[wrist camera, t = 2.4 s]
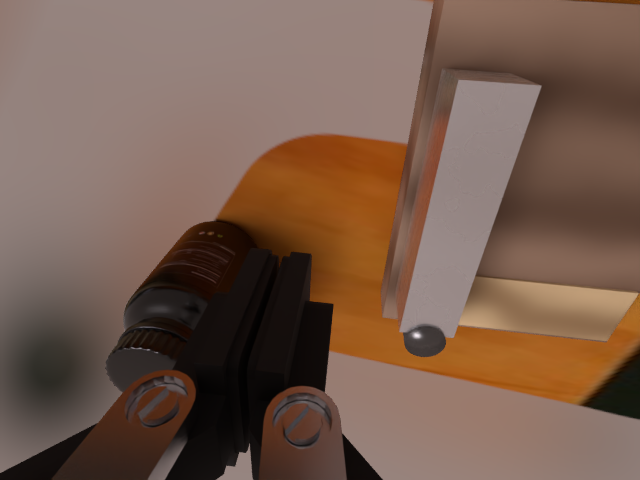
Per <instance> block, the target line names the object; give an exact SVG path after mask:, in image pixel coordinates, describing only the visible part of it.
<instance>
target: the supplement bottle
mask: <svg viewBox="0 0 640 480" xmlns="http://www.w3.org/2000/svg"><path fill="white" fill-rule="evenodd" d="M251 248H257V246H256V244H255V243H254V241H253V240H252V239H251V238H250V237H249V236H248V235H247V234H246V233H245V232H243V231H242V230H240V229H239V228H237V227H235V226H233V225H230V224H227V223H223V222H215V221H211V222H203V223H200V224H197V225H195V226H193V227H191V228H190V229H188V230H187V231H186V232H185V233H184V234H183V235H182V236H181V237H180V239H179V240H178V241H177V242H176V243H175V245H174V246H173V247H172V248H171V249H170V251H169V252H168V253H167V254H166V255H165V256H164V258H163V259H162V260H161V261H160V262H159V264H158V265H157V266H156V267H155V269H154V270H153V271H152V272H151V273H150V275H149V276H148V277H147V278H146V279H145V281H144V282H143V283H142V284H141V285H140V287H139V288H138V289H137V290H136V291H135V293H134V294H133V295H132V296H131V298H130V299H129V301H128V303H127V304H126V307H125V311H124V319H123V322H124V329H125V332H124V333H123V334H122V336H121V337H120V339H119V341H118V343H117V345H116V346H115V348H114V349H113V350H112V352H111V353H110V355H109V356H108V359H107V361H106V368H105V369H106V370H107V375H108V376H109V378H110V380H111V381H112V382H113V384H114V386H116V387H117V388H118V389H119V390H120V391H122V392H124V391H125V390H126V389H127V388H128V387H129V386H130V385H131V384H132V383H133V382H135V381H136V380H138V379H140V378H141V377H143V376H144V375H147V374H150V373H153V372H155V371H161V370H172V369H173V367H174V365H175V364H176V362H177V360H178V358H179V356H180V354H181V353H182V351H183V349H184V347H185V345H186V343H187V342H188V340H189V338H190V336H191V334H192V333H193V331H194V329H195V327H196V325H197V323H198V322H199V320H200V318H201V316H202V314H203V312H204V311H205V309H206V307H207V305H208V303H209V301H210V300H211V298H212V296H213V295H214V293H216V292H217V291H219V292H228V293H229V291H230V289H231V287H232V285H233V283H234V281H235V279H236V277H237V275H238V273H239V270H240V268H241V266H242V264H243V262H244V260H245V258H246V256H247V254H248V252H249V250H250V249H251Z"/></svg>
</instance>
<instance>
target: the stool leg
mask: <svg viewBox="0 0 640 480" xmlns="http://www.w3.org/2000/svg"><path fill="white" fill-rule="evenodd" d="M540 89H541V85H539V84H536V83H534V82H531V81H529V80H526V79H524V78H521V77H519V76H516V75H514V74H511V73H499V72H485V71H471V70H456V69H442V72H441V76H440V81H439V86H438V91H437V96H436V100H435V105H434V110H433V115H432V119H431V124H430V129H429V134H428V138H427V143H426V148H425V153H424V158H423V162H422V167H421V172H420V177H419V181H418V186H417V191H416V196H415V200H414V205H413V210H412V215H411V219H410V224H409V229H408V234H407V239H406V243H405V248H404V253H403V258H402V262H401V267H400V272H399V277H398V281H397V286H396V291H395V297H396V306H397V315H398V324H399V332H403V335H404V343H405V347H406V349H407V350H408V351H409V352H410V353H411V354H413V355H416V356H420V357H430V356H434V355H436V354H438V353H440V352H441V351H442V350H443V349H444V347H445V345H446V340H445V337H450V338H454V335H455V332H456V329H457V326H458V324H459V321H460V318H461V315H462V312H463V309H464V306H465V304H466V301H467V298H468V295H469V292H470V289H471V286H472V284H473V281H474V278H475V275H476V272H477V269H478V266H479V264H480V261H481V258H482V255H483V252H484V249H485V246H486V244H487V241H488V238H489V235H490V232H491V229H492V226H493V224H494V221H495V218H496V215H497V212H498V209H499V206H500V204H501V201H502V198H503V195H504V192H505V189H506V186H507V184H508V181H509V178H510V175H511V172H512V169H513V166H514V163H515V161H516V158H517V155H518V152H519V149H520V146H521V143H522V141H523V138H524V135H525V132H526V129H527V126H528V123H529V121H530V118H531V115H532V112H533V109H534V106H535V103H536V101H537V98H538V95H539V92H540Z"/></svg>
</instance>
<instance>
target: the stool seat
mask: <svg viewBox="0 0 640 480" xmlns="http://www.w3.org/2000/svg"><path fill="white" fill-rule="evenodd" d="M442 69H456V70H471V71H485V72H499V73H511V74H514V75H516V76H519V77H521V78H524V79H526V80H529V81H531V82H534V83H536V84H539V85H541V89H540V92H539V95H538V98H537V101H536V103H535V106H534V109H533V112H532V115H531V118H530V121H529V123H528V126H527V129H526V132H525V135H524V138H523V141H522V143H521V146H520V149H519V152H518V155H517V158H516V161H515V163H514V166H513V169H512V172H511V175H510V178H509V181H508V184H507V186H506V189H505V192H504V195H503V198H502V201H501V204H500V206H499V209H498V212H497V215H496V218H495V221H494V224H493V226H492V229H491V232H490V235H489V238H488V241H487V244H486V246H485V249H484V252H483V255H482V258H481V261H480V264H479V266H478V269H477V272H476V275H475V278H474V281H473V284H472V286H471V289H470V292H469V295H468V298H467V301H466V304H465V306H464V309H463V312H462V315H461V318H460V321H459V324H458V326H464V327H473V328H482V329H491V330H500V331H509V332H518V333H527V334H536V335H545V336H554V337H563V338H572V339H581V340H590V341H599V342H607V340H608V339H609V337H610V336H611V334H612V333H613V331H614V330H615V328H616V327H617V325H618V324H619V323H620V321H621V320H622V318H623V317H624V315H625V314H626V312H627V311H628V309H629V308H630V306H631V305H632V303H633V302H634V300H635V299H636V297H637V296H638V294H639V293H640V5H637V4H620V3H603V2H585V1H568V0H434V4H433V9H432V15H431V20H430V26H429V31H428V37H427V42H426V48H425V54H424V58H423V64H422V69H421V75H420V81H419V86H418V91H417V97H416V102H415V108H414V113H413V119H412V124H411V130H410V135H409V141H408V146H407V152H406V157H405V162H404V168H403V173H402V179H401V184H400V190H399V195H398V201H397V206H396V212H395V217H394V223H393V228H392V234H391V239H390V245H389V250H388V256H387V261H386V267H385V272H384V277H383V283H382V288H381V301H382V317H383V318H392V319H398V315H397V306H396V297H395V291H396V286H397V281H398V277H399V272H400V267H401V262H402V258H403V253H404V248H405V243H406V239H407V234H408V229H409V224H410V219H411V215H412V210H413V205H414V200H415V196H416V191H417V186H418V181H419V177H420V172H421V167H422V162H423V158H424V153H425V148H426V143H427V138H428V134H429V129H430V124H431V119H432V115H433V110H434V105H435V100H436V96H437V91H438V86H439V81H440V76H441V72H442Z"/></svg>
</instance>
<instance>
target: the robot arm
mask: <svg viewBox="0 0 640 480" xmlns="http://www.w3.org/2000/svg"><path fill="white" fill-rule="evenodd" d="M311 260H312V255H311V254H308V253H298V252H291V255H290V257H286V256H284V257H283V259H282V262H281V265H280V268H279V258H278V256H276V255H272V251H271V250H268V249H258V248H251V249H250V250H249V252H248V254H247V256H246V258H245V260H244V262H243V264H242V266H241V268H240V270H239V273H238V275H237V277H236V279H235V281H234V283H233V285H232V287H231V289H230V291H229V293H228V292H219V291H217V292H216V293H214V295H213V296H212V298H211V300H210V301H209V303H208V305H207V307H206V309H205V311H204V312H203V314H202V316H201V318H200V320H199V322H198V323H197V325H196V327H195V329H194V331H193V333H192V334H191V336H190V338H189V340H188V342H187V343H186V345H185V347H184V349H183V351H182V353H181V354H180V356H179V358H178V360H177V362H176V364H175V365H174V367H173V369H172V370H161V371H155V372H153V373H150V374H147V375H144V376H143V377H141V378H140V379H138V380H136V381H135V382H133V383H132V384H131V385H130V386H129V387H128V388H127V389H126V390H125V391H124V392H123V393H122V395H121V396H120V397H119V398H118V399H117V401H116V402H115V403H114V404H113V405H112V407H111V408H110V409H109V410H108V411H107V413H106V414H105V415H104V416H103V418H102V419H101V420H100V421H99V422H98V423H97V424H95V425H93V426H91V427H89V428H87V429H85V430H83V431H81V432H79V433H78V434H76V435H73V436H72V437H70V438H68V439H66V440H64V441H62V442H60V443H58V444H56V445H54V446H52V447H50V448H48V449H46V450H44V451H42V452H40V453H39V454H37V455H35V456H33V457H31V458H29V459H27V460H25V461H23V462H21V463H19V464H17V465H15V466H13V467H11V468H9V469H7V470H6V471H4V472H2V473H0V480H216V479H217V478H219V477H220V476H222V475H223V474H224V471H225V468H226V465H227V466H235V465H236V461H237V458H238V454H239V452H243V453H246V452H247V450H248V447H249V443H250V451H251V464H252V475H253V480H383V479H382V478H381V477H380V476H379V475H378V474H377V473H376V471H375V470H374V469H373V468H372V467H371V466H370V465H369V463H368V462H367V461H366V460H365V459H364V458H363V456H362V455H361V454H360V453H359V452H358V451H357V450H356V448H355V447H354V446H353V445H352V444H351V443H350V442H349V440H348V439H347V438H346V437H345V436H344V435H343V434H342V430H341V420H340V415H339V412H338V408H337V406H336V405H335V403H334V402H333V400H332V399H331V398H330V397H329V396H328V395H327V394H325V385H326V374H327V365H328V355H329V345H330V335H331V325H332V314H333V304H330V303H321V302H312V301H309V300H310V280H311Z"/></svg>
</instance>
